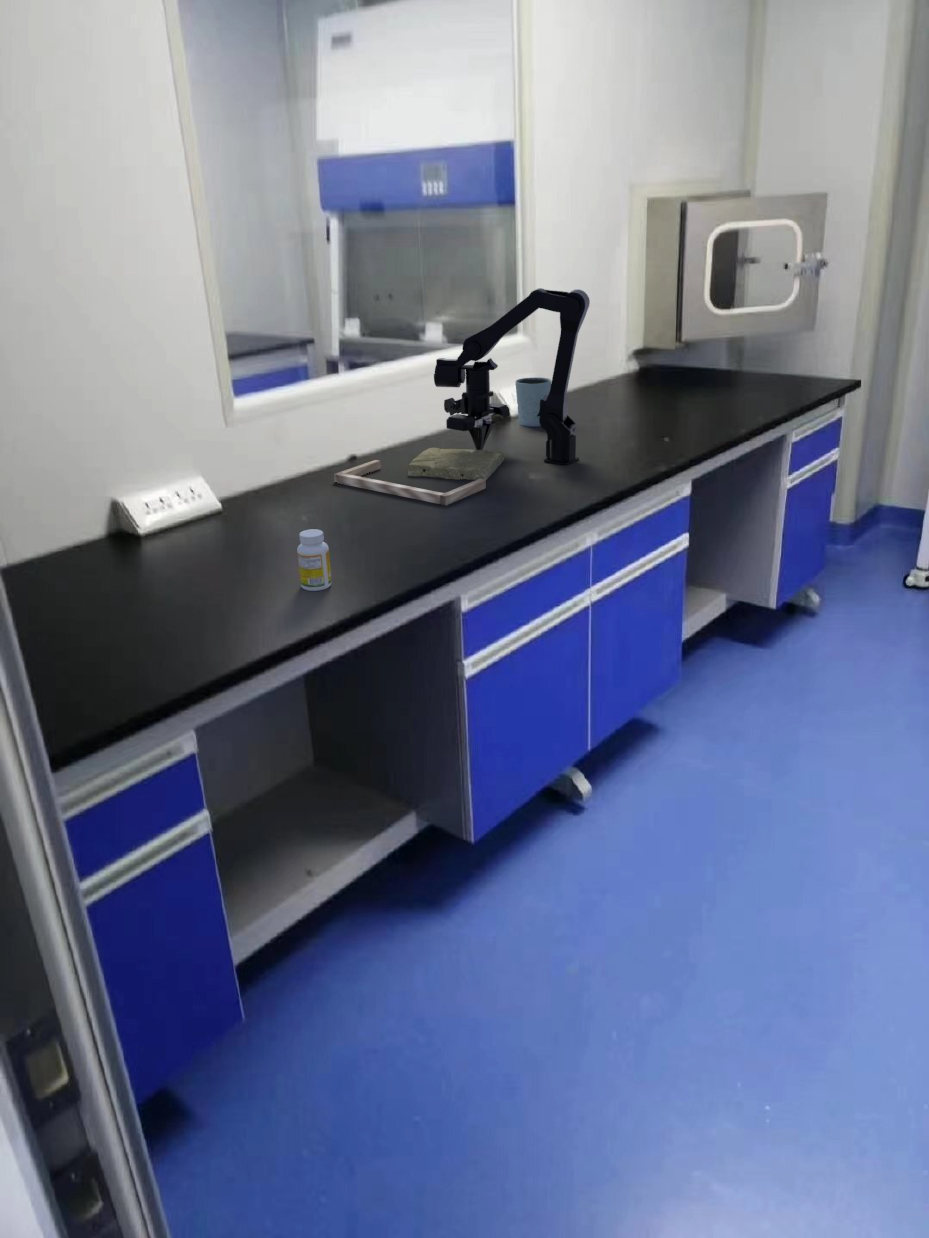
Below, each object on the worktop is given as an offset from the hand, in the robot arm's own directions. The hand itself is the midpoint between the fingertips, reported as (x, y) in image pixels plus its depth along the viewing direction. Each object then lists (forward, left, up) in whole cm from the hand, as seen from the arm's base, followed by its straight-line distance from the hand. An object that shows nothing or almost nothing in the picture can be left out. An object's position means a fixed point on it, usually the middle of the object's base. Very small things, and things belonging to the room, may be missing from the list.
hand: (479, 451), depth 233 cm
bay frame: (0, +28, -2) cm, 28 cm away
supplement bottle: (-25, +81, -2) cm, 85 cm away
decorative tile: (-1, +11, -3) cm, 11 cm away
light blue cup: (+9, -38, -2) cm, 39 cm away
